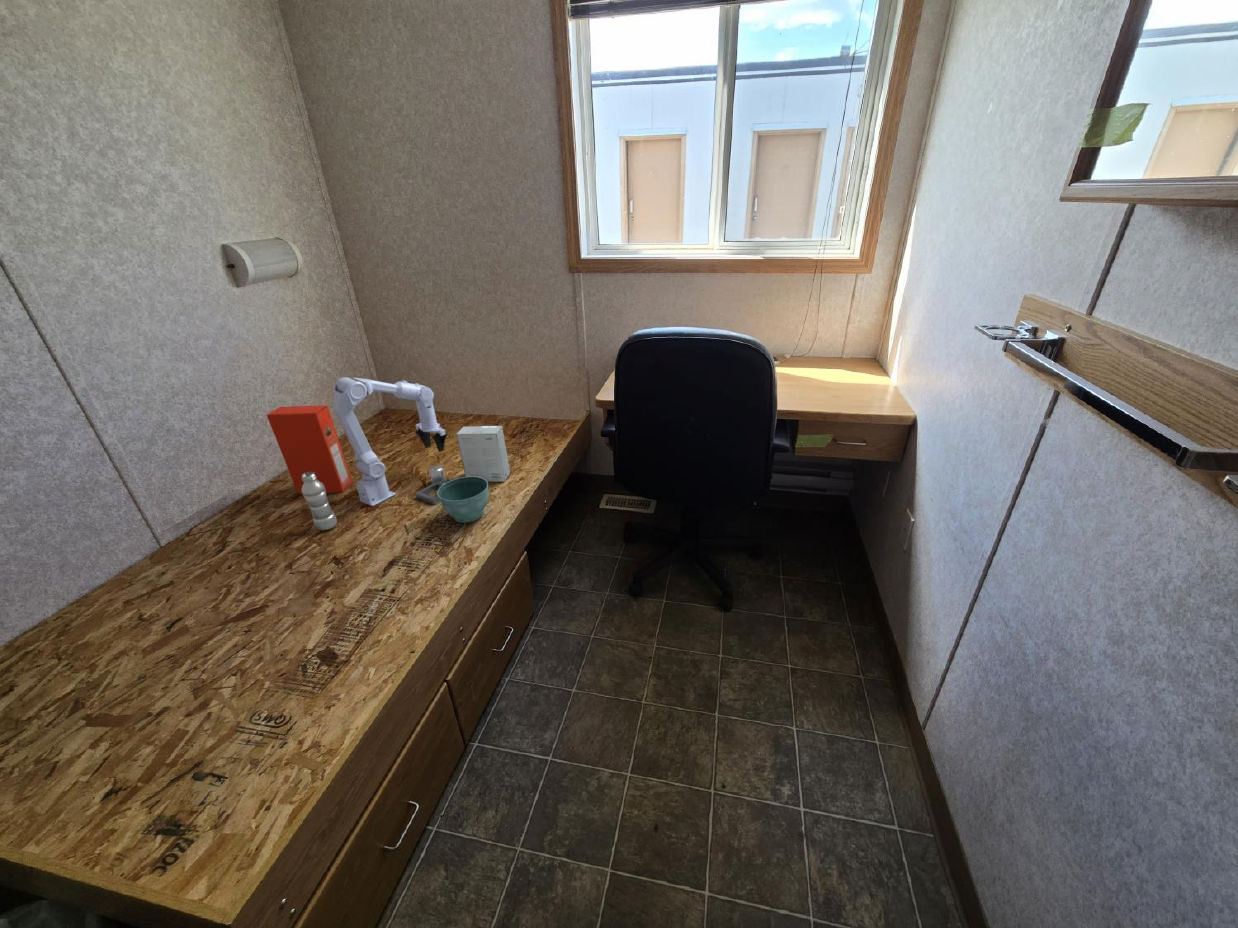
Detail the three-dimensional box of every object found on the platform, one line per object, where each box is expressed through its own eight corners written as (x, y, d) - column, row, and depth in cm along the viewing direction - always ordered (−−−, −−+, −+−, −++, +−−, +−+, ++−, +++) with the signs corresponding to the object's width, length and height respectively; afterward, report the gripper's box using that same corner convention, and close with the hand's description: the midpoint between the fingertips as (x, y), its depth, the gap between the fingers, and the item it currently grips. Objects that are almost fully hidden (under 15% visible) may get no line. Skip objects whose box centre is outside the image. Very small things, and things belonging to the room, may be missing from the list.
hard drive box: (510, 472, 195) (503, 425, 186) (505, 482, 189) (496, 434, 180) (472, 472, 197) (463, 425, 188) (465, 481, 190) (455, 434, 181)
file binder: (342, 493, 187) (315, 413, 172) (297, 494, 187) (266, 414, 173) (353, 482, 194) (327, 404, 179) (309, 483, 195) (280, 406, 180)
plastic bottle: (329, 533, 163) (309, 480, 154) (311, 532, 164) (290, 478, 155) (343, 522, 168) (324, 470, 159) (325, 521, 170) (306, 469, 161)
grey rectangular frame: (434, 505, 176) (433, 500, 175) (416, 498, 181) (415, 493, 180) (456, 492, 183) (455, 487, 183) (438, 485, 188) (437, 481, 187)
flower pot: (433, 522, 166) (426, 494, 161) (467, 499, 179) (461, 472, 174) (470, 533, 159) (463, 505, 154) (503, 508, 172) (498, 481, 167)
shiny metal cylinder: (438, 486, 188) (435, 472, 185) (429, 483, 190) (426, 470, 188) (448, 481, 192) (445, 467, 189) (440, 478, 194) (436, 464, 191)
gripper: (448, 415, 188) (455, 448, 195) (423, 410, 195) (430, 441, 201) (433, 422, 183) (441, 455, 189) (408, 416, 190) (416, 448, 196)
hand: (434, 448), depth 195 cm, fingers open, 7 cm apart
